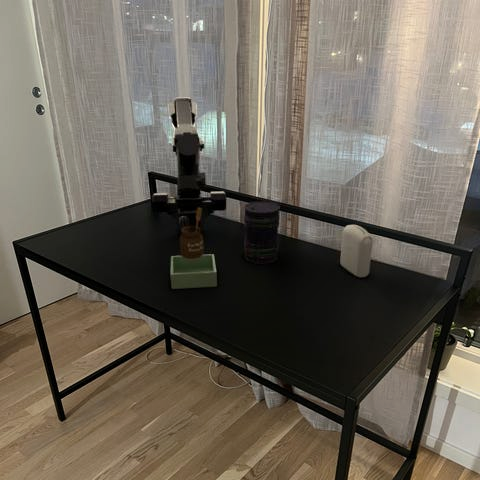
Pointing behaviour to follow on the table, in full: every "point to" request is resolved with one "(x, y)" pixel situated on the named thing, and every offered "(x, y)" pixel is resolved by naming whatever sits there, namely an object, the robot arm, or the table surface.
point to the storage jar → (261, 231)
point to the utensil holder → (191, 239)
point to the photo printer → (356, 250)
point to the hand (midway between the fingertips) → (190, 232)
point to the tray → (193, 272)
